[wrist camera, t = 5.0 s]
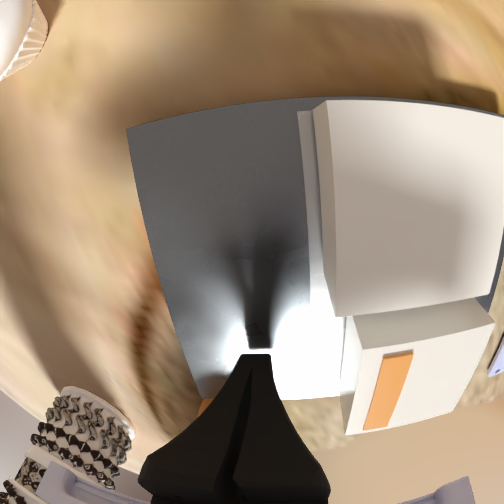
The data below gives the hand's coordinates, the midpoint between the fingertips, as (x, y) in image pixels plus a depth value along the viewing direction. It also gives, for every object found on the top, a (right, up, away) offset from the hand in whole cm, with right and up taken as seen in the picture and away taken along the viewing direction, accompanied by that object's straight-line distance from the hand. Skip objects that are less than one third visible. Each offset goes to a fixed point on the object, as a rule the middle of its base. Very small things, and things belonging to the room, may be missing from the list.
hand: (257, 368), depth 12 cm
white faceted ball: (-13, +17, -4) cm, 22 cm away
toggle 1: (+5, +8, -3) cm, 10 cm away
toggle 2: (+7, +1, 0) cm, 7 cm away
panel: (+4, +4, 0) cm, 6 cm away
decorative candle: (-15, -10, +9) cm, 20 cm away
